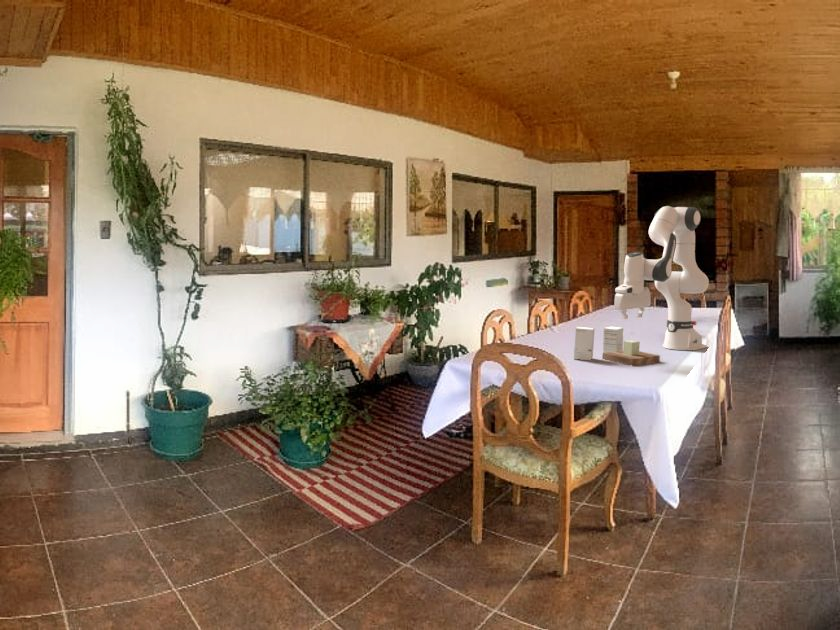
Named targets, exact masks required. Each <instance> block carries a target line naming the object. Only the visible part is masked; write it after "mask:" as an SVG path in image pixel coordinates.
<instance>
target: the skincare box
mask: <svg viewBox="0 0 840 630" xmlns="http://www.w3.org/2000/svg"><path fill="white" fill-rule="evenodd" d="M595 329H596V328H595V327H584V326H577V327H575V332H574V333H575V335H574V349H573V350H574V351H573V360H577V359H580V360H579V361H592V360H593V359H592V358H593V357H594V345H595V343H594V342H595ZM591 359H592V360H591Z"/></svg>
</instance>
